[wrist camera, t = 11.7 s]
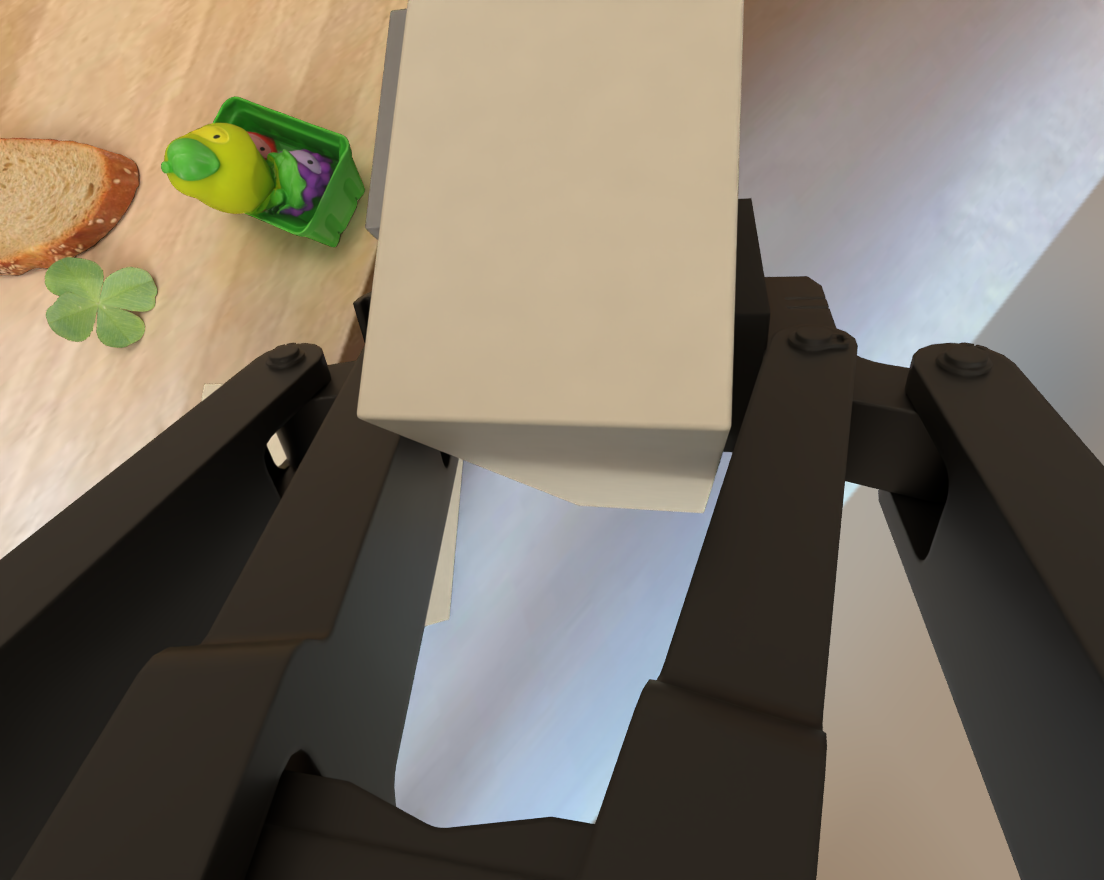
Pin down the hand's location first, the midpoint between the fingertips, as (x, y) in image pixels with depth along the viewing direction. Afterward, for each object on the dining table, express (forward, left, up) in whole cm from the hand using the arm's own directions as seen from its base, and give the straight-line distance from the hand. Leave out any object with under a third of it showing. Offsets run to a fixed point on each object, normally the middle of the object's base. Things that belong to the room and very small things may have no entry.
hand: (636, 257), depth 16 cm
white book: (0, 0, -5) cm, 5 cm away
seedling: (+28, +35, -25) cm, 51 cm away
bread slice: (+42, +41, -25) cm, 63 cm away
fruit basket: (+28, +18, -25) cm, 41 cm away
